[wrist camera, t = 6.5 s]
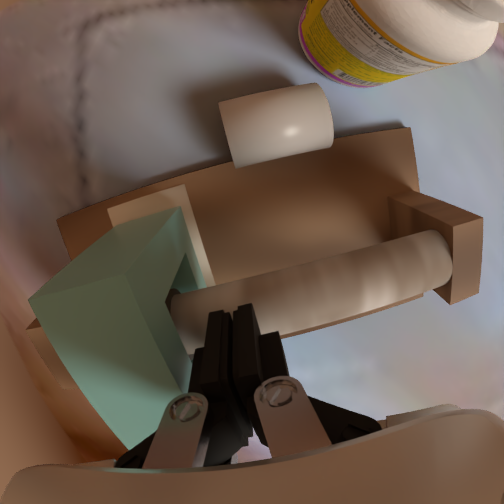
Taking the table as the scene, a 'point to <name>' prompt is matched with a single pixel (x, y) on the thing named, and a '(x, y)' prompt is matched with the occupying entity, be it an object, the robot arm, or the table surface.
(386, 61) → the supplement bottle
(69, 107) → the table surface
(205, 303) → the pipe rig
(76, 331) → the collar
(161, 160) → the table surface
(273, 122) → the sleeve
